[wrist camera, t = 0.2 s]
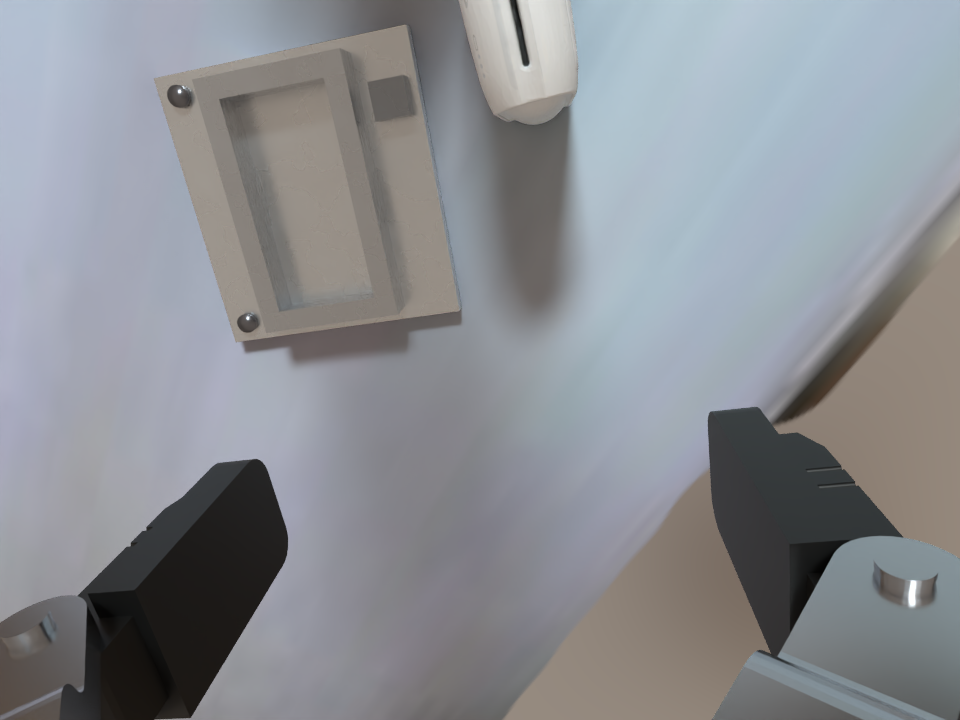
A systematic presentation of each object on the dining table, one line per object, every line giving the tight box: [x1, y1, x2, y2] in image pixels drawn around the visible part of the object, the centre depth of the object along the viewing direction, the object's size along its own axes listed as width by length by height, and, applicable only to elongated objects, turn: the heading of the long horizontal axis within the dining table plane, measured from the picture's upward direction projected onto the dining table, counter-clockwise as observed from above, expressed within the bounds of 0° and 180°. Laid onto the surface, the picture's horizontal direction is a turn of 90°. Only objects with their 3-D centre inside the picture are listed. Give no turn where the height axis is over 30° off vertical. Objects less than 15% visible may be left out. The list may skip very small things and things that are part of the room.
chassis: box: [154, 24, 462, 342], centre depth 36 cm, size 16×15×3 cm
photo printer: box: [459, 0, 578, 125], centre depth 28 cm, size 10×4×12 cm, turn 14°
